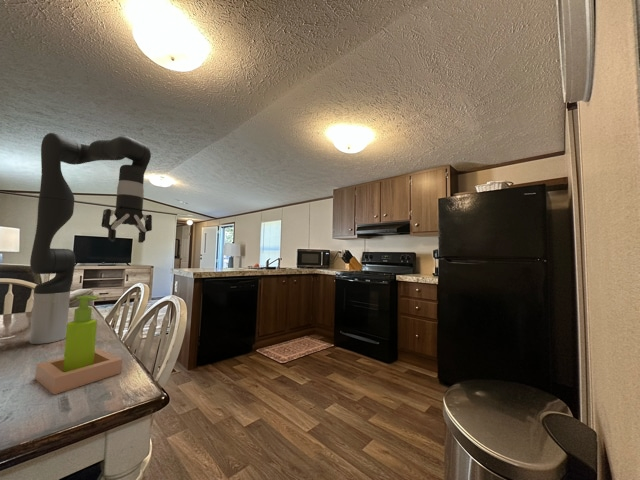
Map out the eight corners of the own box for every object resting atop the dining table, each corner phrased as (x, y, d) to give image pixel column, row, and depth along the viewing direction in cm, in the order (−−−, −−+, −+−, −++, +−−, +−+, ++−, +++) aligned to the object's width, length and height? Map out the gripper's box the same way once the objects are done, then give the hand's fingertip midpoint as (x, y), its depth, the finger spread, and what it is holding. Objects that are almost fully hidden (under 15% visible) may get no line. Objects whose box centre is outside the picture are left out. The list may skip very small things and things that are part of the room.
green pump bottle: (77, 379, 64) (84, 298, 65) (56, 376, 65) (63, 296, 66) (102, 369, 70) (107, 294, 71) (81, 366, 71) (87, 293, 72)
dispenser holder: (34, 378, 65) (36, 363, 65) (98, 361, 76) (99, 348, 77) (53, 394, 58) (55, 378, 58) (121, 372, 69) (121, 359, 69)
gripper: (146, 200, 98) (144, 243, 97) (100, 192, 86) (96, 240, 85) (157, 199, 94) (154, 243, 93) (110, 189, 82) (106, 240, 81)
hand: (127, 241), depth 89 cm, fingers open, 8 cm apart
